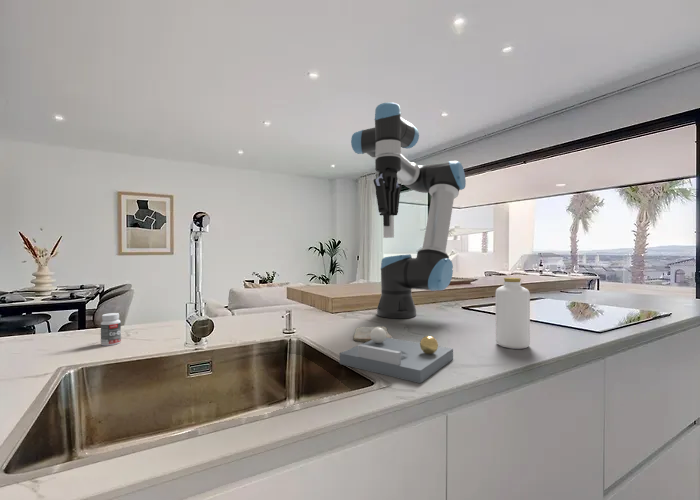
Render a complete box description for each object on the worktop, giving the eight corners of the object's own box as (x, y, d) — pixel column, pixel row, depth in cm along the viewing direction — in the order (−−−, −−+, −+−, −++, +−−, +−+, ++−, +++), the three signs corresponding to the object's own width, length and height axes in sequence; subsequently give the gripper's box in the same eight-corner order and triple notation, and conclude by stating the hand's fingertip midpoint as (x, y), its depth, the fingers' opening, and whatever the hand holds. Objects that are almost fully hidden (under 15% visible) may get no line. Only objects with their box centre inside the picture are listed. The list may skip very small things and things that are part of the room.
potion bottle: (522, 341, 99) (522, 276, 98) (535, 350, 90) (535, 279, 90) (491, 341, 99) (491, 276, 99) (501, 349, 91) (501, 279, 91)
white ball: (375, 340, 92) (375, 324, 92) (389, 342, 90) (389, 326, 90) (367, 343, 89) (367, 327, 89) (381, 346, 86) (380, 329, 86)
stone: (392, 347, 96) (392, 338, 96) (353, 347, 96) (353, 337, 96) (387, 333, 111) (387, 325, 111) (353, 333, 111) (353, 325, 111)
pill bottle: (111, 346, 98) (110, 316, 98) (96, 345, 99) (96, 315, 99) (125, 341, 102) (124, 312, 102) (111, 341, 103) (110, 312, 103)
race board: (380, 345, 96) (380, 327, 96) (453, 359, 84) (452, 338, 84) (339, 363, 81) (339, 342, 81) (420, 383, 70) (420, 357, 69)
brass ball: (424, 350, 83) (424, 333, 83) (440, 353, 81) (440, 335, 81) (417, 354, 80) (416, 336, 80) (433, 357, 77) (433, 339, 77)
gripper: (388, 163, 113) (388, 238, 113) (365, 155, 102) (366, 237, 102) (409, 160, 108) (410, 237, 108) (388, 151, 98) (388, 237, 98)
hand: (388, 237), depth 105 cm, fingers closed
